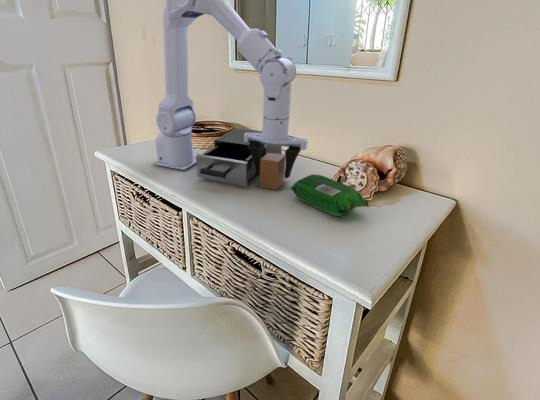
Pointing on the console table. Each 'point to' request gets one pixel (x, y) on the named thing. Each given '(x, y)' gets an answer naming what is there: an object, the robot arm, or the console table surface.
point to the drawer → (226, 164)
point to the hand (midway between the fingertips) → (273, 174)
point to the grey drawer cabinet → (237, 139)
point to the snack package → (328, 195)
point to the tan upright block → (272, 171)
